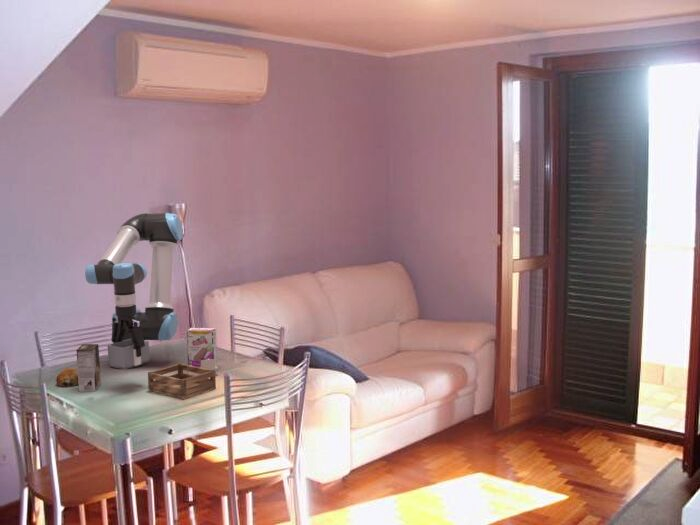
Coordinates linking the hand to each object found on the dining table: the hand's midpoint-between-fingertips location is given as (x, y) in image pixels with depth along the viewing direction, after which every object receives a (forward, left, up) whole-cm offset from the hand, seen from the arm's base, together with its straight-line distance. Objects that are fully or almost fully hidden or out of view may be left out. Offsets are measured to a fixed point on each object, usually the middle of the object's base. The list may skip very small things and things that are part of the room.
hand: (129, 362), depth 296 cm
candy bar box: (+3, +34, -10) cm, 36 cm away
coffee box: (-12, -10, -10) cm, 18 cm away
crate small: (0, 0, 0) cm, 0 cm away
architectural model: (+14, +27, -10) cm, 32 cm away
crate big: (+19, +8, -9) cm, 23 cm away
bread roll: (-23, -10, -10) cm, 27 cm away
